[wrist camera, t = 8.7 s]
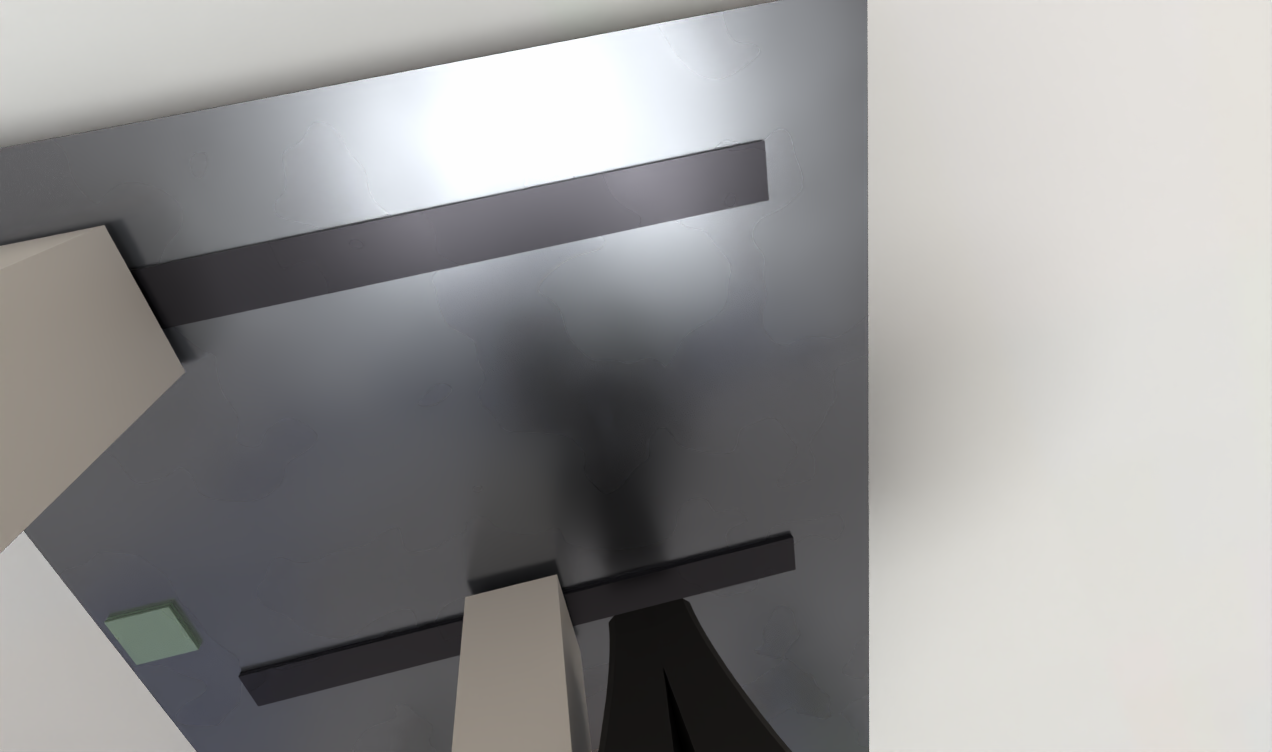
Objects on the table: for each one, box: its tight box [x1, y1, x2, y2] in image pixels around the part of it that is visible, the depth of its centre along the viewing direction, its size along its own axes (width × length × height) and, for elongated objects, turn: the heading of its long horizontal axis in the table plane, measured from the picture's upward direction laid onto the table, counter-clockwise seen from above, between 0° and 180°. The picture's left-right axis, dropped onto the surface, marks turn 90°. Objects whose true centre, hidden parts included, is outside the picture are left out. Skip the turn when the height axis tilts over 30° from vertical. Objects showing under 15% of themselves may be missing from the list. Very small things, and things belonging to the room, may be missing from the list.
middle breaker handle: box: [452, 574, 592, 752], centre depth 10 cm, size 2×2×4 cm
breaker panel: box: [0, 0, 869, 752], centre depth 13 cm, size 13×18×2 cm
